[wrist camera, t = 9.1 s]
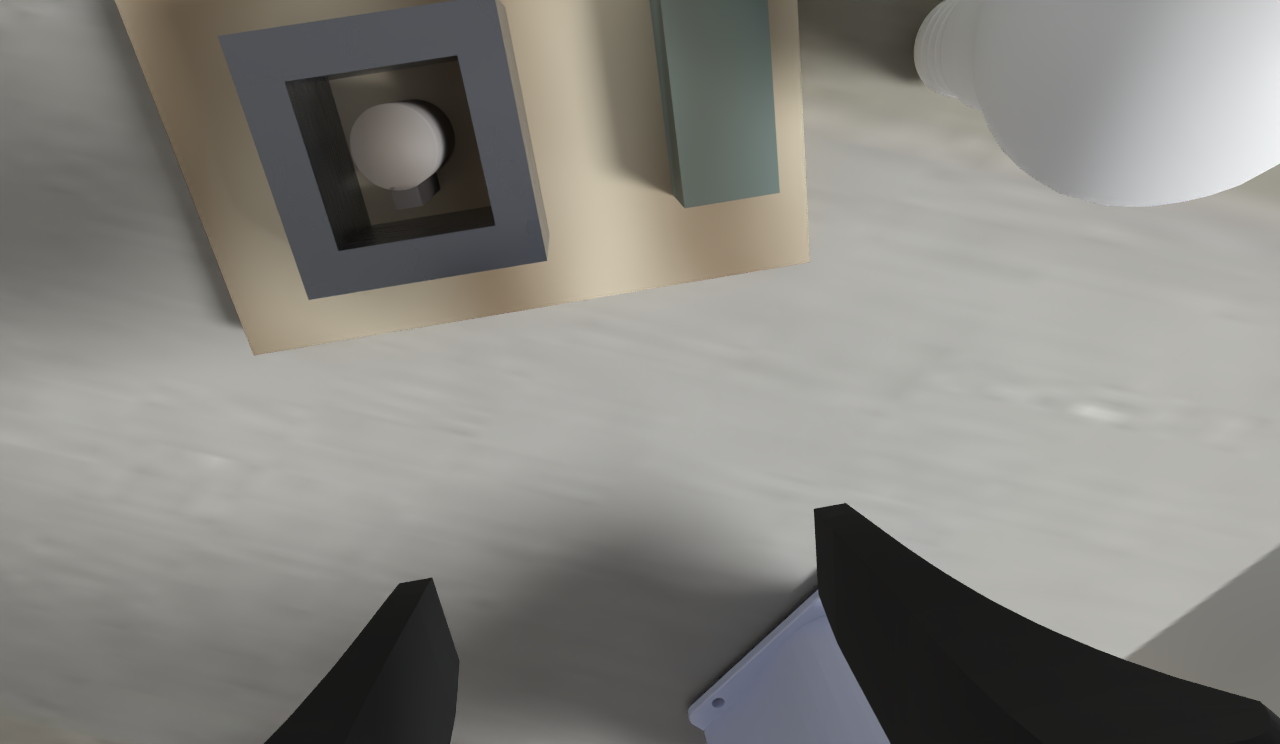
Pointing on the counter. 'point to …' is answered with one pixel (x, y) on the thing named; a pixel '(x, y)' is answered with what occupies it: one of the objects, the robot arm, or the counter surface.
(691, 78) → the stand
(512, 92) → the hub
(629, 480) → the counter surface
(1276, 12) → the lightbulb
